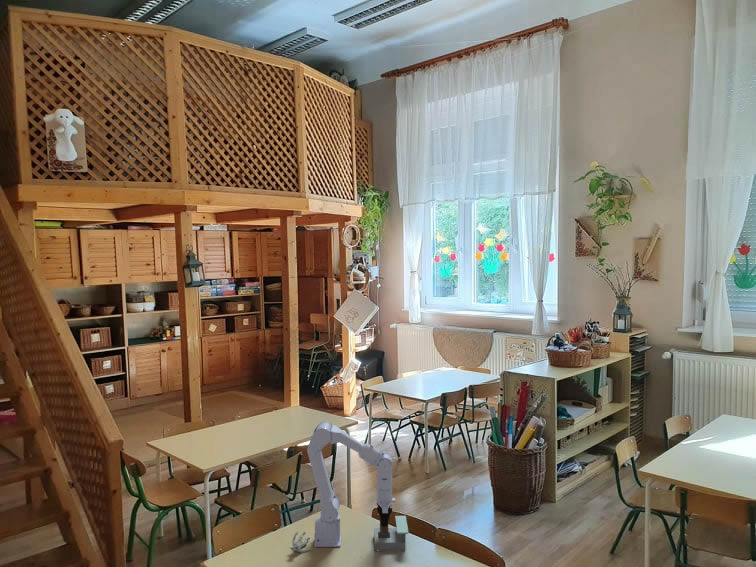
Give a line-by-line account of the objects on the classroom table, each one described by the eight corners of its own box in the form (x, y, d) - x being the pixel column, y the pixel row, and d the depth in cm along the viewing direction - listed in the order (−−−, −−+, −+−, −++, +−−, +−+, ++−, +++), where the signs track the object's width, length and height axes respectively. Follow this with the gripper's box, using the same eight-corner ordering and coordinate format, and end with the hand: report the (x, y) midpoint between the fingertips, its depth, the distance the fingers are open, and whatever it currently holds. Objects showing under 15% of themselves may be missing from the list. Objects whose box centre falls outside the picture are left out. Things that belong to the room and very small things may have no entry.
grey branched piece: (315, 544, 204) (309, 550, 193) (305, 554, 203) (298, 560, 192) (302, 527, 206) (295, 532, 195) (292, 536, 205) (284, 542, 194)
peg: (380, 533, 202) (380, 509, 201) (379, 529, 205) (379, 505, 205) (388, 533, 202) (389, 509, 202) (388, 529, 205) (388, 505, 205)
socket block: (374, 552, 197) (375, 532, 197) (374, 534, 210) (374, 515, 210) (408, 552, 197) (408, 532, 197) (405, 534, 210) (405, 515, 210)
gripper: (396, 495, 196) (396, 533, 196) (394, 479, 210) (393, 514, 211) (376, 495, 196) (376, 533, 196) (375, 479, 210) (375, 514, 211)
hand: (384, 523), depth 203 cm, fingers closed on peg, 3 cm apart
